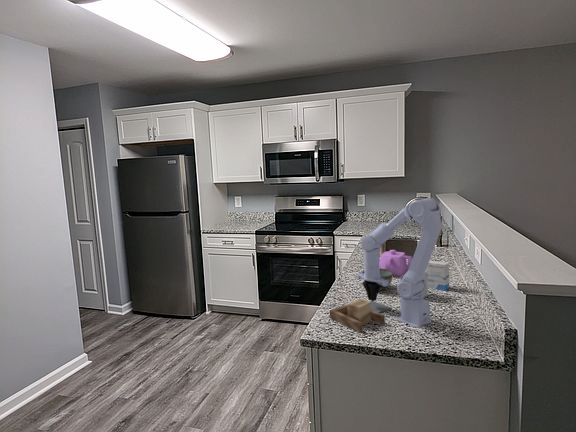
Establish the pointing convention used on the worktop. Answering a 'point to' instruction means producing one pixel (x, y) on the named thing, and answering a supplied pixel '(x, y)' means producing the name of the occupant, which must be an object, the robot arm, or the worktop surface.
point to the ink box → (438, 275)
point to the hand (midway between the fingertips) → (372, 300)
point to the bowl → (385, 277)
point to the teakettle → (395, 262)
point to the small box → (425, 285)
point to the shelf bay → (356, 325)
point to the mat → (378, 307)
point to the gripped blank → (360, 310)
